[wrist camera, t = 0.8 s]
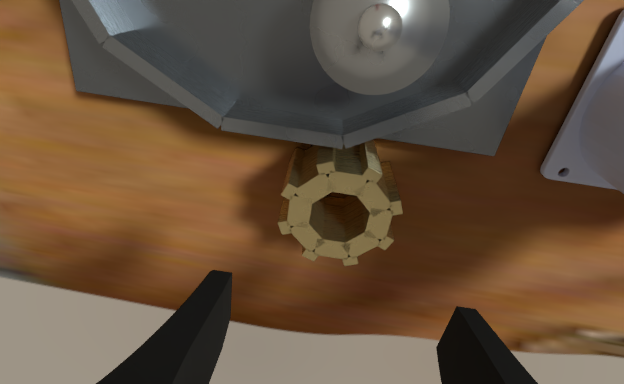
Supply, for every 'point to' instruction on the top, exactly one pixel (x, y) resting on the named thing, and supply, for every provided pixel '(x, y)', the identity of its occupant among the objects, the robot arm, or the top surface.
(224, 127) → the carrier
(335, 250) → the gear
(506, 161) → the top surface
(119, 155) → the top surface
